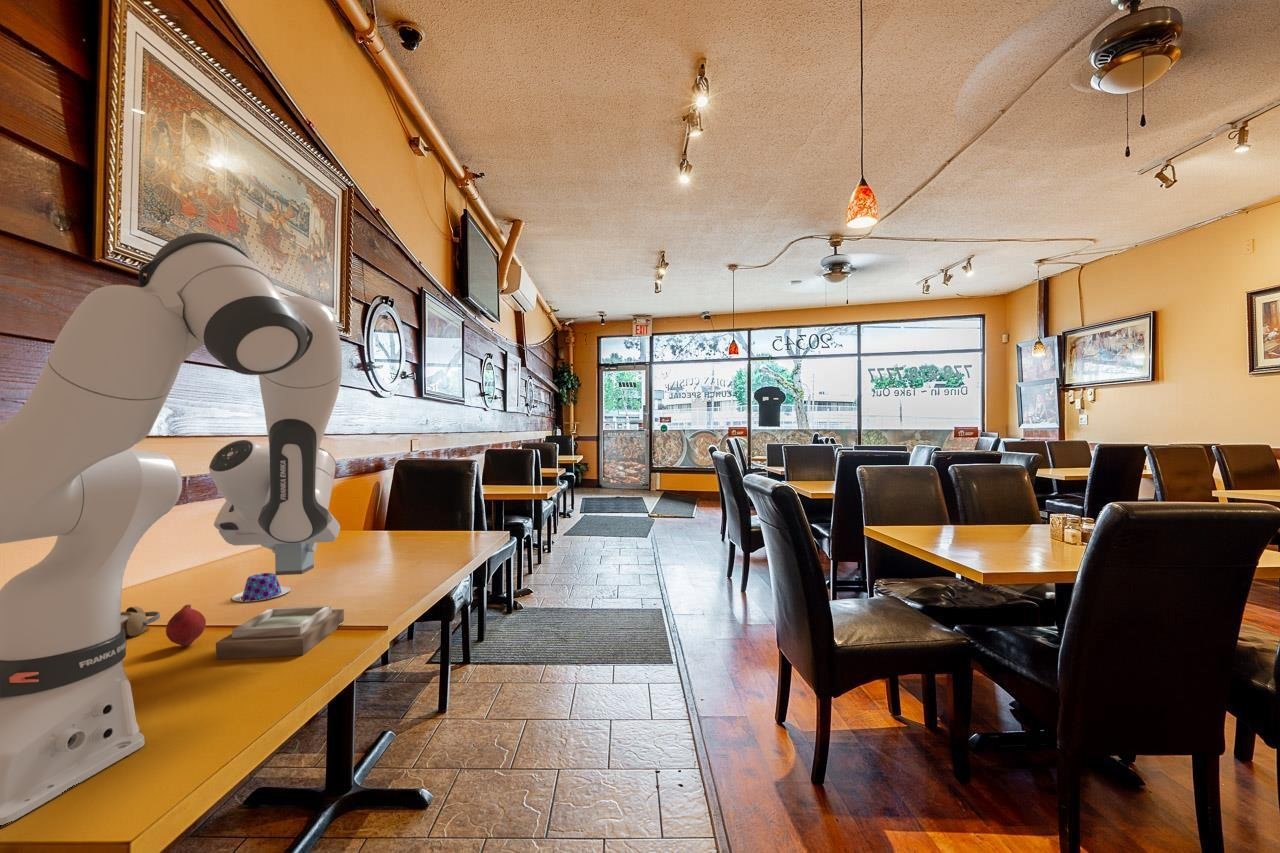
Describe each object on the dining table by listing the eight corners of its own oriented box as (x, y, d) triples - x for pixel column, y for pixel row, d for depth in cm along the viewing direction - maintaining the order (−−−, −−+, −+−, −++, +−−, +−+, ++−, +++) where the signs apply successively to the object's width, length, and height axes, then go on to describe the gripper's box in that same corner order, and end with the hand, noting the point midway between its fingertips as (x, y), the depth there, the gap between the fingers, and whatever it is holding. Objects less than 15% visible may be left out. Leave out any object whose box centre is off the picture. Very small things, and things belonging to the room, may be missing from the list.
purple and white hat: (293, 597, 134) (293, 575, 134) (233, 607, 126) (232, 585, 126) (287, 586, 143) (287, 566, 143) (230, 595, 136) (230, 575, 136)
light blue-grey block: (301, 574, 109) (301, 534, 109) (275, 575, 109) (274, 535, 109) (313, 567, 114) (313, 530, 114) (288, 568, 114) (288, 531, 114)
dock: (303, 655, 98) (302, 630, 98) (216, 659, 97) (215, 634, 97) (343, 623, 114) (343, 602, 114) (269, 626, 113) (269, 604, 113)
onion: (182, 653, 100) (182, 610, 100) (158, 651, 101) (157, 608, 101) (213, 641, 106) (212, 600, 106) (189, 639, 107) (189, 598, 107)
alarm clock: (55, 626, 108) (154, 595, 118) (62, 649, 108) (160, 616, 119) (51, 641, 100) (158, 607, 110) (59, 666, 100) (164, 630, 111)
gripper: (331, 495, 106) (353, 535, 116) (219, 498, 104) (250, 538, 113) (321, 521, 102) (344, 560, 111) (203, 525, 99) (237, 565, 109)
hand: (296, 549), depth 112 cm, fingers closed on light blue-grey block, 5 cm apart
